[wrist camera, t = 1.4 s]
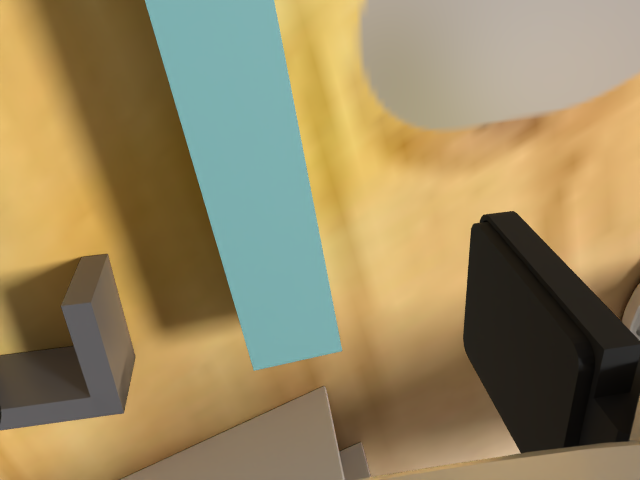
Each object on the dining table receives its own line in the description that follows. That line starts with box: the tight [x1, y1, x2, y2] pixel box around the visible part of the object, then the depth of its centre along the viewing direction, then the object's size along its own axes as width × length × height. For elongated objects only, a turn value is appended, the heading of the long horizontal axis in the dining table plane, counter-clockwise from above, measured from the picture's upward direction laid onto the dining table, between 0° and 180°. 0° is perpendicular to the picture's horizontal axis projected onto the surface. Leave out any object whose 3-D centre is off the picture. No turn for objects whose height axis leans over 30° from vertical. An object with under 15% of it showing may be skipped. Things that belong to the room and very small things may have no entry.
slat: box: [145, 0, 342, 371], centre depth 24 cm, size 4×22×5 cm, turn 10°
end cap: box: [0, 254, 135, 430], centre depth 28 cm, size 8×6×4 cm
